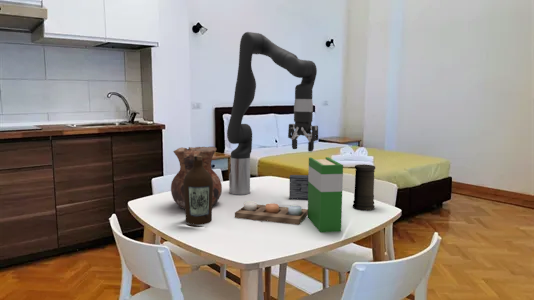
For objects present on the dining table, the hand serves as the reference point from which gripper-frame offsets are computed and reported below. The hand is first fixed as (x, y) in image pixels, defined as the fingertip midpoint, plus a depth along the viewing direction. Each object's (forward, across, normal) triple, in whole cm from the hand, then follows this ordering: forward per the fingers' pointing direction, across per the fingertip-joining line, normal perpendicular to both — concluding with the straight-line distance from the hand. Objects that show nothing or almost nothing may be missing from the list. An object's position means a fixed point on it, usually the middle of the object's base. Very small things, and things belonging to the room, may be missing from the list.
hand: (302, 150), depth 172 cm
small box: (+25, -12, +13) cm, 31 cm away
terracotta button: (+22, +2, -19) cm, 29 cm away
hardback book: (+25, +21, -12) cm, 35 cm away
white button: (+22, -6, -23) cm, 32 cm away
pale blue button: (+22, +10, -15) cm, 28 cm away
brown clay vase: (+25, -33, -30) cm, 51 cm away
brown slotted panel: (+25, +2, -19) cm, 31 cm away
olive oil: (+25, -12, -43) cm, 51 cm away
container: (+25, +17, +20) cm, 36 cm away
